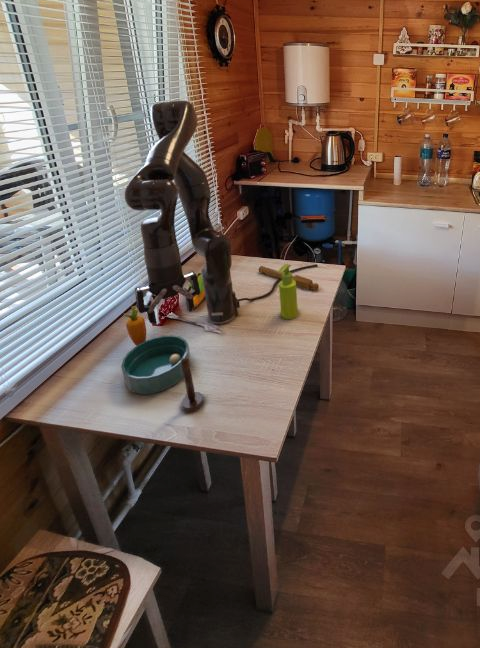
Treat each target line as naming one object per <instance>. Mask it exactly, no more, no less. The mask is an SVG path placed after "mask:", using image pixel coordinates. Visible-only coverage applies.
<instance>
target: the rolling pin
mask: <svg viewBox="0 0 480 648" xmlns="http://www.w3.org/2000/svg"><path fill="white" fill-rule="evenodd" d="M258 272H259V273H261V274H264V275H267V276H270V277H274V278H278V279H279V278H280V280H282V274H283V273H279V272H278V270H275V269H273V268H269V267H266V266H263V265H261V266H259V267H258ZM292 279H293V280H295V281H296V288H300V289H302V290H307V291H309V290H311V289H312V290H313V291H317V290H318V289H319V283H316V282H315V283H314V282H313V280H312V279H311V278H307V277H304V276H301V275H297V274H296V275H292Z"/></svg>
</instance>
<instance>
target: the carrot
mask: <svg viewBox="0 0 480 648" xmlns="http://www.w3.org/2000/svg"><path fill="white" fill-rule="evenodd" d="M131 311H132V312H131V313H123V316H124V317H128V318H129V319H127V321H126V323H125V326H126V330H127V333H128V336H129V338H130V340H131V341H132V343H133V344H134V345H135V347H136V346H137V345H139V344H141V343H143V342H144V341H147V325H146V321H145V318H144V317H143V316H141V315H138V313H139V311H138V309H137V307H136V306H131Z"/></svg>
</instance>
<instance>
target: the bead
mask: <svg viewBox="0 0 480 648" xmlns="http://www.w3.org/2000/svg"><path fill="white" fill-rule="evenodd" d="M169 361H170V363H171V364H173V365H175V364H177V363H178V362H179V361H180V356H179V355H178V354H173V355H171V357H170V359H169Z"/></svg>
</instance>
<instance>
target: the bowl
mask: <svg viewBox="0 0 480 648" xmlns="http://www.w3.org/2000/svg"><path fill="white" fill-rule="evenodd" d="M173 354H178V355H179V356H180V361H179V362H178V363H177V364H175V365H173V364H171V363H170V361H169V359H170V357H171V355H173ZM185 357H186V358H188V360H189V365H190V367H192V357H191V352H190V346H189V343H188V341H187V340H186V339H185V338H183V337H181V336H178V335H173V334H170V335H160V336H155V337H152V338H150V339H146V341H144V342H143V343H141V344H139V345H137V346H136V345H135V346H134V347H133V348H131V350H130V351H128V352H127V353H126V355H125V356H124V358H123V359H122V362H121V365H120V368H121V371H122V375H123V379H124V382H125V386H126V388H127V389H129V390H130V392H132V393H134V394H135V393H136V394H138V395H149V394H155V393H158V392H159V393H160V392H163V391H164V390H167V389H169V388H171V387H172V386H175V385H176V384H178V382H180V381H182V379H184V376H183V371H182V366H181V360H182V358H185Z"/></svg>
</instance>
